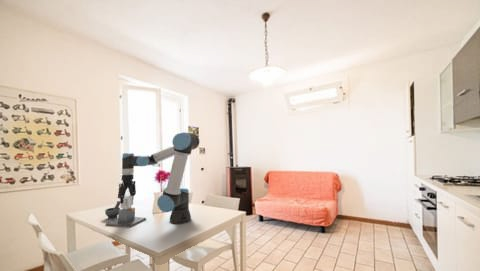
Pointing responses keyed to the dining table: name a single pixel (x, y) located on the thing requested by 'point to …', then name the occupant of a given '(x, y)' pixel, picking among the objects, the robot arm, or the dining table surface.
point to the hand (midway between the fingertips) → (126, 206)
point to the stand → (126, 219)
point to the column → (127, 202)
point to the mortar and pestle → (113, 211)
